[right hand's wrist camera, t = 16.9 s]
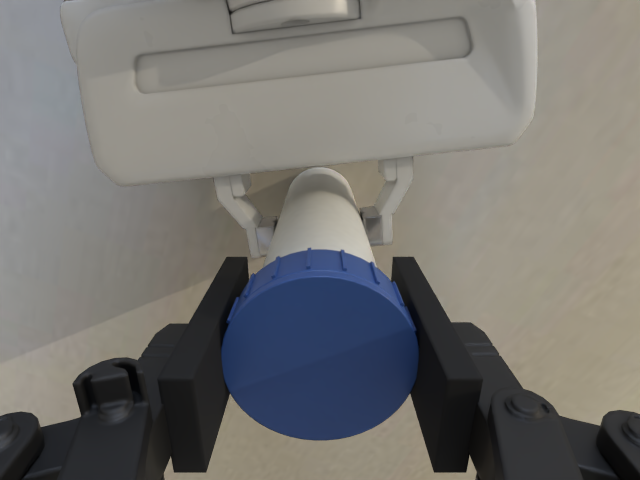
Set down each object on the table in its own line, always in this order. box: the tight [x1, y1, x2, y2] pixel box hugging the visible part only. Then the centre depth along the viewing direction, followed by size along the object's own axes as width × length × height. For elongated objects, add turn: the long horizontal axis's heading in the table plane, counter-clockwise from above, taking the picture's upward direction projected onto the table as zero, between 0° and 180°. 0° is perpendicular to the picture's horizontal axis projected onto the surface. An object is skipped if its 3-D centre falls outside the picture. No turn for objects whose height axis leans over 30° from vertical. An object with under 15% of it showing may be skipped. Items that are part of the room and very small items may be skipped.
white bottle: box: [263, 167, 377, 268], centre depth 19 cm, size 5×5×17 cm
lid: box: [221, 248, 419, 440], centre depth 11 cm, size 6×6×2 cm
